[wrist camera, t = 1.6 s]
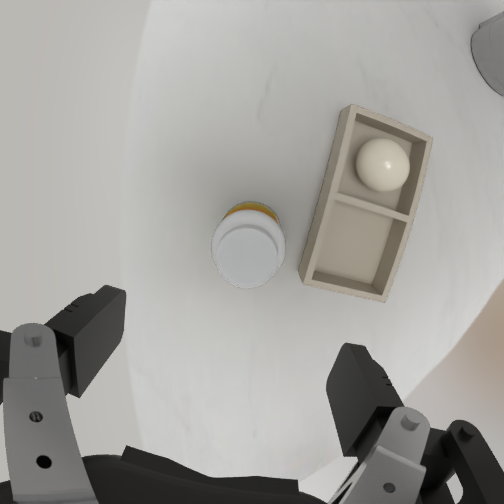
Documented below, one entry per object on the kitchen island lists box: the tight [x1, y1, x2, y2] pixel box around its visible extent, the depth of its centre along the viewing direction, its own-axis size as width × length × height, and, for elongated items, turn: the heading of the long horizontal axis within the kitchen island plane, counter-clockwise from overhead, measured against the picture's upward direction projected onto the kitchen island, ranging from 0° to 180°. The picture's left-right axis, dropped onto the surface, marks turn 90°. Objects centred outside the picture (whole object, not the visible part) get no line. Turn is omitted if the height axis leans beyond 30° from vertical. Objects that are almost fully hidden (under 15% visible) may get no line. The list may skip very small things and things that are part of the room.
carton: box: [298, 104, 433, 303], centre depth 26 cm, size 16×8×4 cm, turn 166°
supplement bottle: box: [211, 202, 286, 288], centre depth 24 cm, size 5×5×10 cm
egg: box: [356, 137, 410, 193], centre depth 24 cm, size 5×5×5 cm
